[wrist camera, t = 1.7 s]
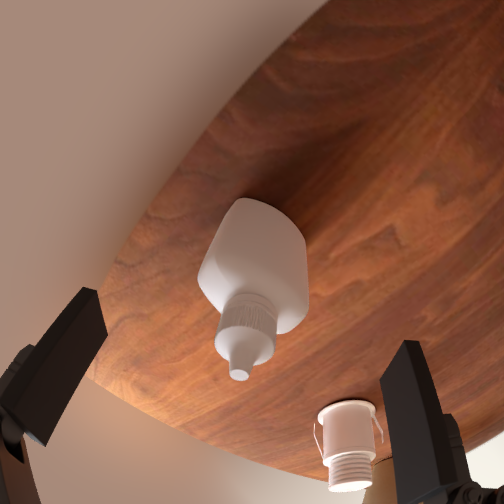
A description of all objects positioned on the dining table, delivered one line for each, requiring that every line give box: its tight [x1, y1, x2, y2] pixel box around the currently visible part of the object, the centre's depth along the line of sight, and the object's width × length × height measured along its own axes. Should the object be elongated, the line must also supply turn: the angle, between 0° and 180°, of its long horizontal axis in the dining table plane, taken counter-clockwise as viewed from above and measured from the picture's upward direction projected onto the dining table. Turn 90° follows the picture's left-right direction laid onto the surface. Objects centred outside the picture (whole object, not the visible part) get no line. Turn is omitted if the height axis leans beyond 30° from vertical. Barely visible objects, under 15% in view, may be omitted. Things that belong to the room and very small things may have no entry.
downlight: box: [314, 400, 384, 492], centre depth 27 cm, size 8×7×10 cm
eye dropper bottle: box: [198, 198, 309, 381], centre depth 15 cm, size 4×6×12 cm
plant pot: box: [362, 458, 423, 504], centre depth 34 cm, size 15×15×16 cm
